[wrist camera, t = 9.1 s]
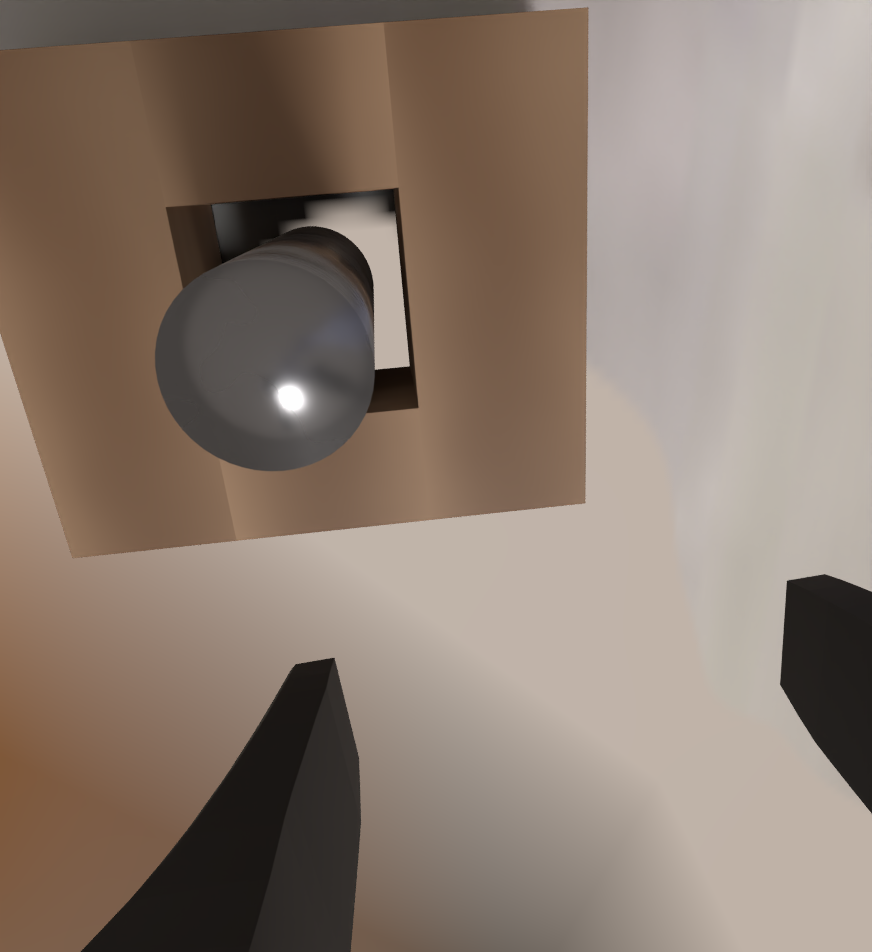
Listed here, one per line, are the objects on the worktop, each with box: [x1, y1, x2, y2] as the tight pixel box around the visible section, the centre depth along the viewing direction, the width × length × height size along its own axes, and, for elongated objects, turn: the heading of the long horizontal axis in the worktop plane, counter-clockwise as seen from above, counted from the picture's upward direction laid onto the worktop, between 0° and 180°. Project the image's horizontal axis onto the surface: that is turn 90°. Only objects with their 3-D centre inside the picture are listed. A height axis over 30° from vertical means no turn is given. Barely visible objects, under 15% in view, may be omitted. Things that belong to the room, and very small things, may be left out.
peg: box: [155, 226, 375, 471], centre depth 14 cm, size 3×3×9 cm
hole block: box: [0, 8, 588, 558], centre depth 16 cm, size 12×10×4 cm
